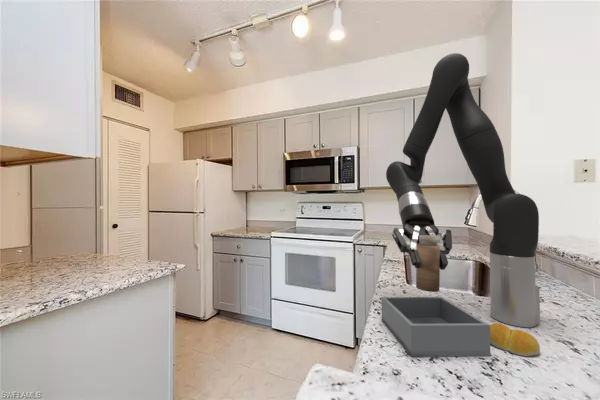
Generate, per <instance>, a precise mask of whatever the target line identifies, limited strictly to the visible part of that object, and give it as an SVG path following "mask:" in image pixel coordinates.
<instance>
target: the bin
mask: <svg viewBox="0 0 600 400" xmlns="http://www.w3.org/2000/svg"><path fill="white" fill-rule="evenodd" d="M381 322H382V323H383V324H384V325H385V326H386V328H387V329H388V330H389V331H390V333H391V334H392V335H393V336H394V338H396V340H397V341H398V343H399V344H400V345H401V347H402V348H403V349H404V350H405V351H406V353H407V354H408V355H409V356H410V357H411V358H414V357H415V358H418V357H419V358H420V357H421V358H424V357H425V358H426V357H429V358H431V357H435V358H436V357H490V356H491V344H490V325H491V324H489V323H487V322H485V321H484V320H482V319H480V318H479V317H477V316H476V315H474V314H472V313H470V312H469V311H467V310H465V309H464V308H461V307H460V306H458V305H456V304H454V303H453V302H452V301H449V300H448V299H446V298H444V297H442V296H381Z"/></svg>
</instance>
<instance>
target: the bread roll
mask: <svg viewBox="0 0 600 400" xmlns="http://www.w3.org/2000/svg"><path fill="white" fill-rule="evenodd" d="M489 325H490V346H491V345H492V346H493V347H495V348H497V349H499V350H502V351H506V352H510V354H514V355H517V356H521V357H532V356H538V355H539V354H540V352H541V351H540V350H541V346H540V343H539V341H538V339H536V338H535V337H534V336H533V335H532V334H531V333H528V332H525V331H523V330H520V329H511V328H510V327H508V326H507V325H505V324H502V323H497V322H494V323H492V324H489Z"/></svg>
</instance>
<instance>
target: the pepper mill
mask: <svg viewBox="0 0 600 400" xmlns="http://www.w3.org/2000/svg"><path fill="white" fill-rule="evenodd" d="M437 237H438V235H437V236H430V235H419V243H417V245H416V250H417V251H418V255H419V258H420V262H421V265H420V267H419V268H415V269H416V270H415V271H416V272H415V273H416V274H415V277H416V278H415V279H416V280H415V281H416V283H415V287H416V289H418V290H420V291H424V292H429V293H431V292H433V293H437V292H439V291H440V273H441V269H440V245H437Z"/></svg>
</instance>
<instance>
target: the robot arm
mask: <svg viewBox="0 0 600 400" xmlns="http://www.w3.org/2000/svg"><path fill="white" fill-rule="evenodd" d="M469 73H470V63H469V60H468V59H467V56H465V55H463V54H462V53H459V52H458V53H457V52H456V53H450V54H447V55H446V56H443V57H442V58H440V59H439V61H437V63H436V65H435V66H434V68H433V71H432V76H431V79H430V83H429V87H428V90H427V93H426V96H425V98H424V101H423V104H422V106H421V109H420V111H419V113H418V115H417V117H416V120H415V122H414V124H413V126H412V128H411V131H410V132H409V135H408V137H407V140H406V142H405V144H404V145H403V149H402V153H403V154H404V156H406V157H407V158H409V160H410V164H407V163H405V162H403V161H399V160H398V161H393V162H391V163H390V164H389V165H388V166H387V169H386V171H385V176H386V178H385V179H386V181H387V183H388V184H389V186H390V189H391V190H392V191H393V192H394V193H395V195H396V200H397V204H398V213H399V216H400V220H401V225H402V228H400V229H399V228H398V227H394V228H393V230H392V234H391V236H392V238H393V240H394V242H395V244H396V245H397V248H398V249H399V251H400V253H407V254H408V255H409V257H410V262H411V265H412V266H413V267H414V268H415V269H416V268H419V267H420V265H421V262H420V258H419V255H418V251H417V250H416V248H417V243H419V235H430V236H437V245H440V271H441V270H442V271H444V270H445V269H446V268H447V266H448V265H449V261H448V257H447V255H449V254H450V252H451V250H452V249H453V238H452V237H453V236H452V230H451V229H445V231H444V230H440V229H439V228H438V227H437V226H436V224H435V220H434V218H433V215H432V214H433V213H431V209H430V206H429V204H428V202H427V199H426V198H425V195H424V193H423V189H422V188H421V186H420V183H421V180H422V179H423V173H424V169H425V168H424V167H425V162H426V158H427V154H428V152H429V150H430V147H431V145H432V144H433V141H434V139H435V137H436V134H437V132H438V130H439V126H440V124H441V121H442V118H443V116H444V113H445V110H446V112H447V114H448V117H449V120H450V124H451V127H452V131H453V135H454V136H455V139H456V142H457V144H458V147H459V148H460V151H461V154H462V156H463V158H464V159H465V162H466V165H467V166H468V168H469V170H470V171H469V172H470V173H471V174H472V176H473V178H474V180H475V182H476V184H477V186H478V189H479V192H480V195H481V199H482V203H483V207H484V210H485V213H486V216H487V218H488V220H489V221H491V223H493V225H492V226H493V227H492V228H493V233H492V234H493V235H492V238H491V241H490V242H489V273H490V274H489V277H490V279H489V281H490V285H489V287H490V288H489V290H490V292H489V293H490V317H492V318H493V319H494V320H496V321H499V322H500V323H503V324H506V325H510V326H515V327H521V328H533V327H536V326H537V325H541V307H540V306H541V303H540V302H541V301H540V286H538V285H537V284H536V250H537V247H538V243H539V233H540V232H539V231H540V229H539V225H540V217H539V213H540V212H539V208H538V206H537V203H536V202H535V201H534V200H533V198H531V197H529V195H525V194H521V193H516V191H515V189H514V188H513V186H512V184H511V182H510V179H509V177H508V174H507V171H506V162H505V161H506V160H505V152H504V148H503V144H502V140H501V139H500V136H499V133H498V131H497V129H496V127H495V125H494V124H493V122H492V120H491V119H490V117H489V116H488V115H487V114H486V112H485V111H484V110H483V109H482V108H481V107H480V106H479V105H478V103H477V102H476V100H475V98H474V95H473V92H472V90H471V87H470V86H471V85H470V83H469V79H468V78H469ZM404 236H405V238H407V239H409V241H410V242H409V244H408V243H407V242H406V240H405V238H404ZM438 236H439V237H440V239H439V237H438ZM440 240H441V241H442V243H441V241H440Z"/></svg>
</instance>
